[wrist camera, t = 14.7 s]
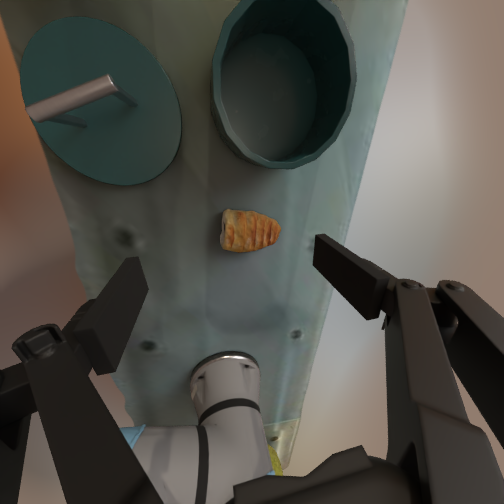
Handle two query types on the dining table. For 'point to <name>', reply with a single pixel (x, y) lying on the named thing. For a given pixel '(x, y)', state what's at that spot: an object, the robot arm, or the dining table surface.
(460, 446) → the robot arm
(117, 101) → the lid
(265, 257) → the dining table surface
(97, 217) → the dining table surface
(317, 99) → the pot
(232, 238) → the pastry
